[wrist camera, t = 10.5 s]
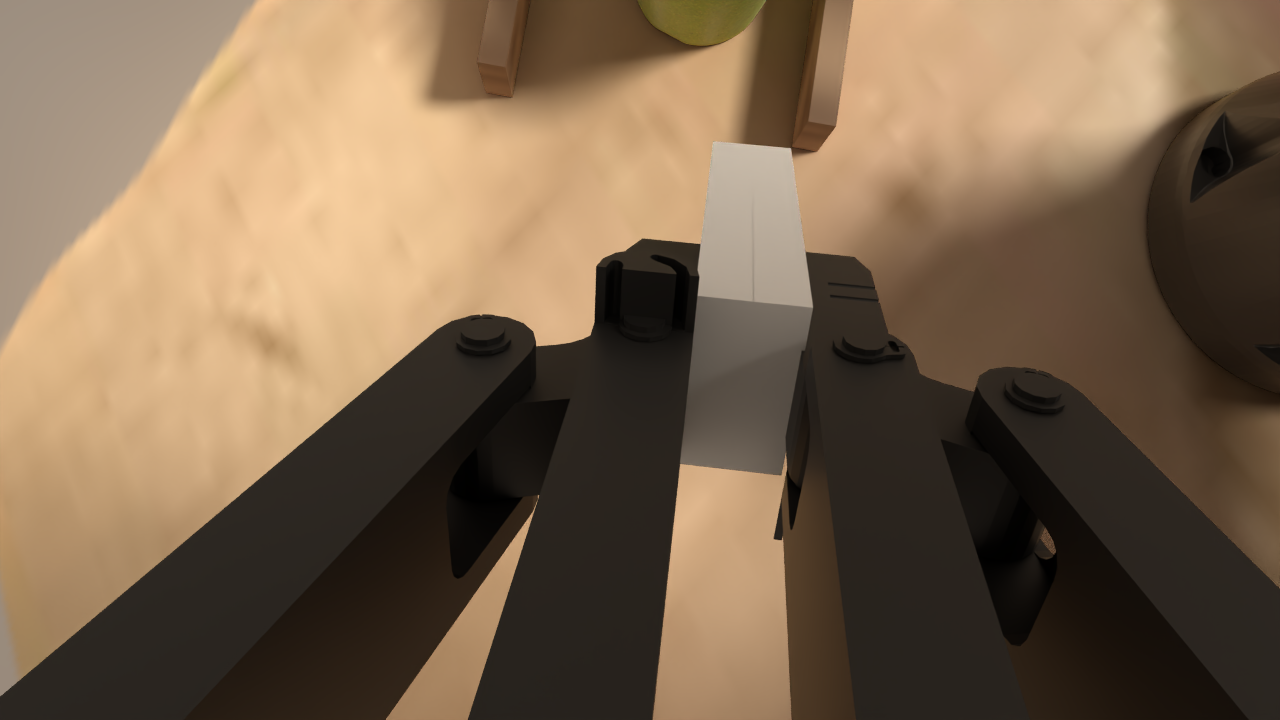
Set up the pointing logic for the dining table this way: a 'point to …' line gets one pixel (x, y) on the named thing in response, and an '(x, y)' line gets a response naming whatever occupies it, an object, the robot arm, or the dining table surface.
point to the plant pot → (701, 18)
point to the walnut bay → (816, 83)
